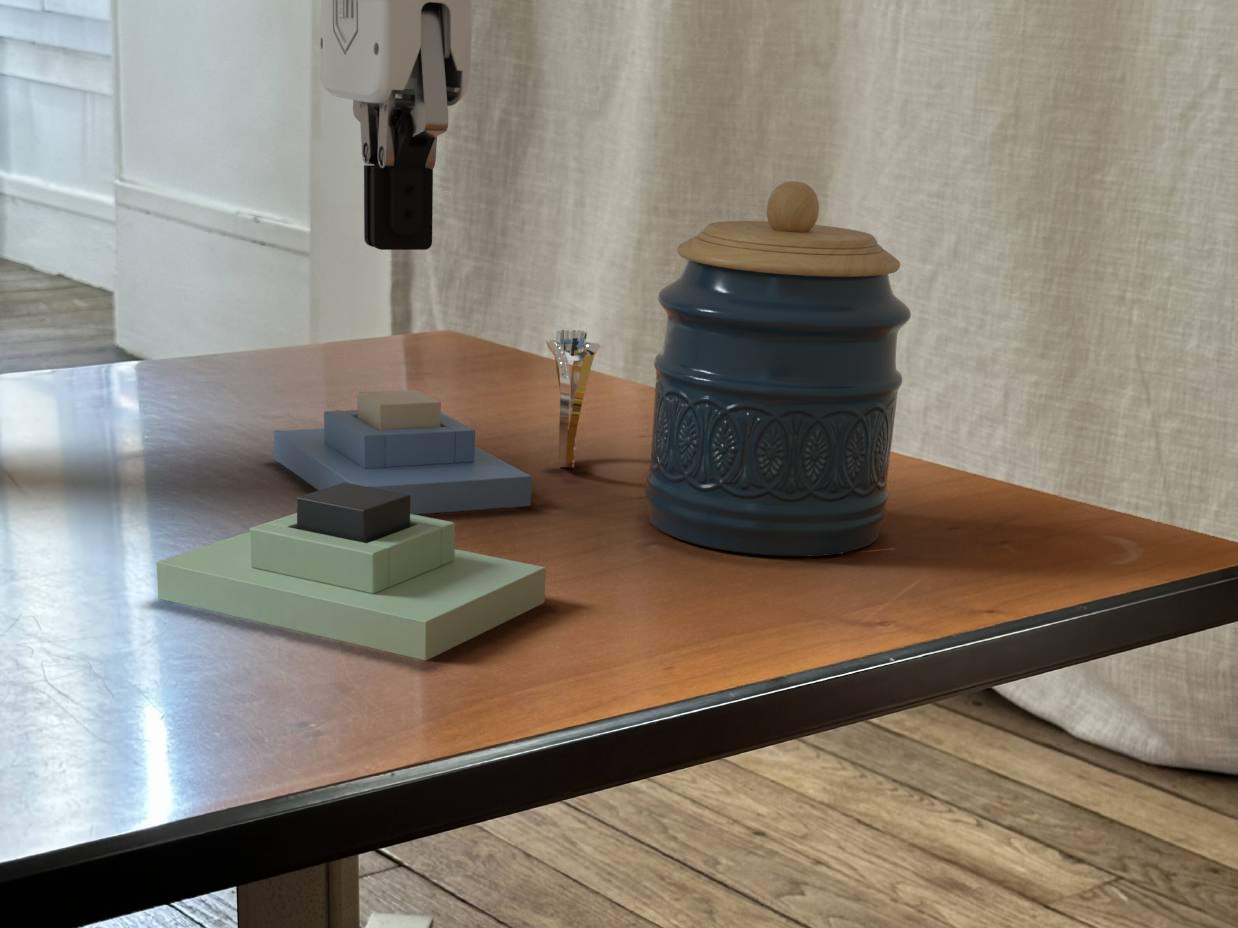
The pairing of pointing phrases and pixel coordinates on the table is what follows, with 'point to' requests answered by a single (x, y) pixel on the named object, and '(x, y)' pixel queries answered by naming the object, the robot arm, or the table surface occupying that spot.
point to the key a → (353, 512)
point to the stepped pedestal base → (356, 585)
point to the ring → (571, 386)
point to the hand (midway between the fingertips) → (398, 246)
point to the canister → (776, 386)
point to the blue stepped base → (405, 463)
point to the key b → (398, 409)
